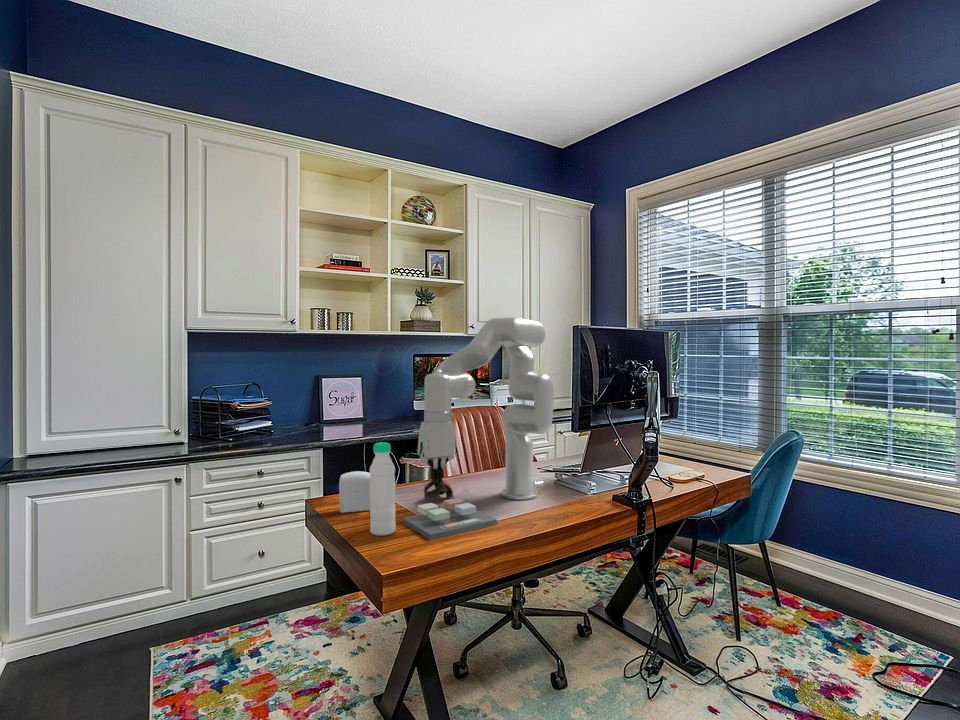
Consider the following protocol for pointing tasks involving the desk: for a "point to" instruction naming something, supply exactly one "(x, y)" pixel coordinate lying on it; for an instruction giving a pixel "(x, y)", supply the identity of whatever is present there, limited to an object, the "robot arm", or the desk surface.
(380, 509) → the water bottle
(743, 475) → the desk surface
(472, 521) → the keypad
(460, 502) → the terracotta key
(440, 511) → the sage key
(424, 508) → the cream key
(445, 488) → the brown arched ornament
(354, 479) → the photo printer
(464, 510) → the blue key
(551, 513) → the desk surface
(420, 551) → the desk surface
